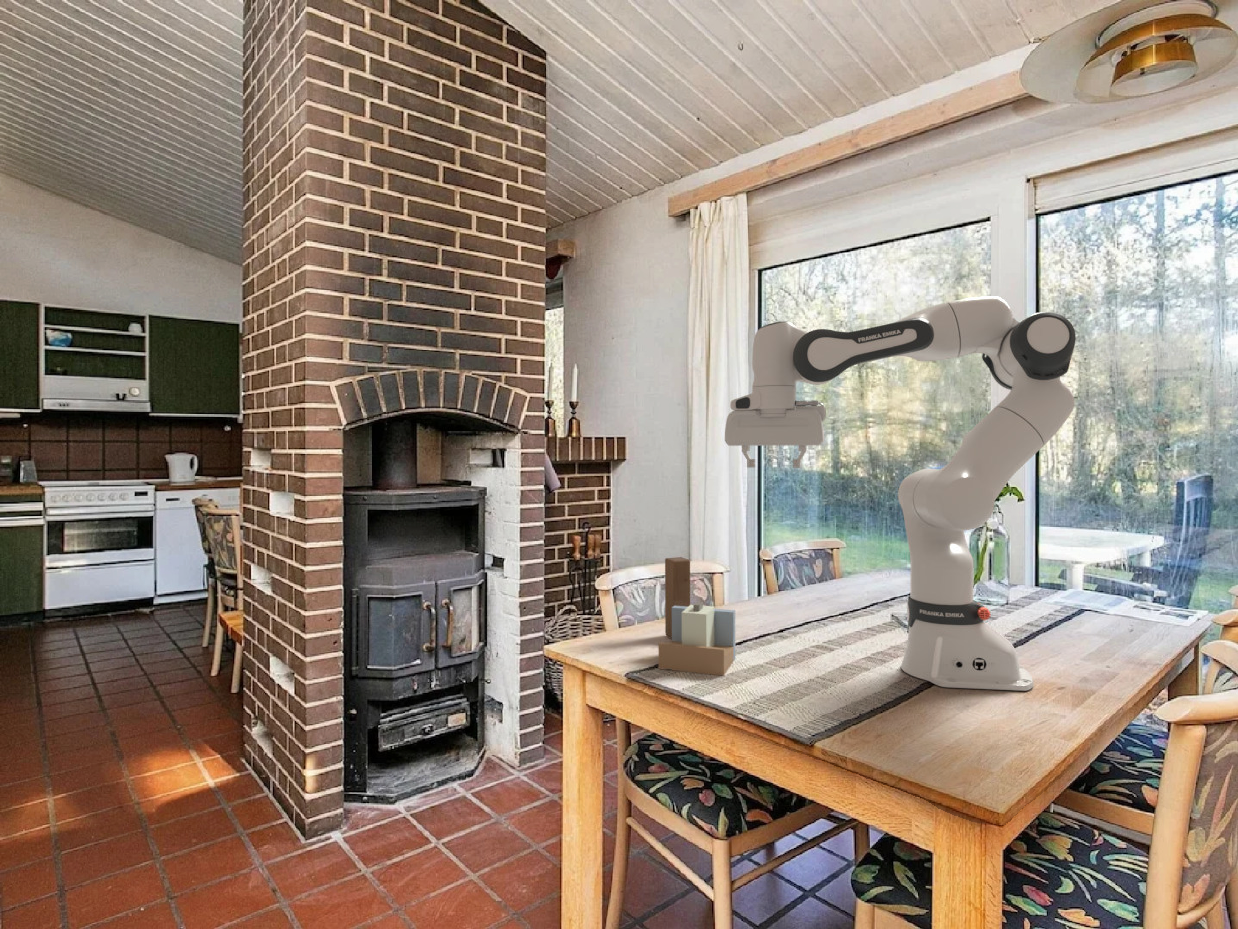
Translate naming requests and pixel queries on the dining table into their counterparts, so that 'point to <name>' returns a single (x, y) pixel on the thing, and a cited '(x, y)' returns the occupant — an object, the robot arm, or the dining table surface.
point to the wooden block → (676, 588)
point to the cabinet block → (698, 625)
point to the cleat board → (700, 656)
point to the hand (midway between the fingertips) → (773, 467)
